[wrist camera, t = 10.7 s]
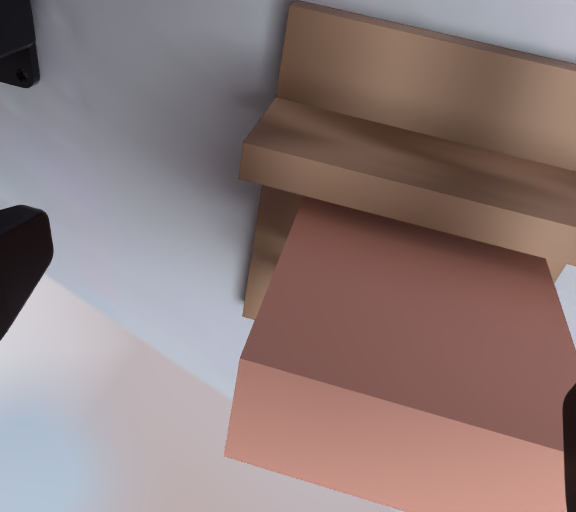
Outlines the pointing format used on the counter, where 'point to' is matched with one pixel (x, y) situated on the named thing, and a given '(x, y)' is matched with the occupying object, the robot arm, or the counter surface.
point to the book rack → (414, 137)
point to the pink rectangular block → (406, 368)
